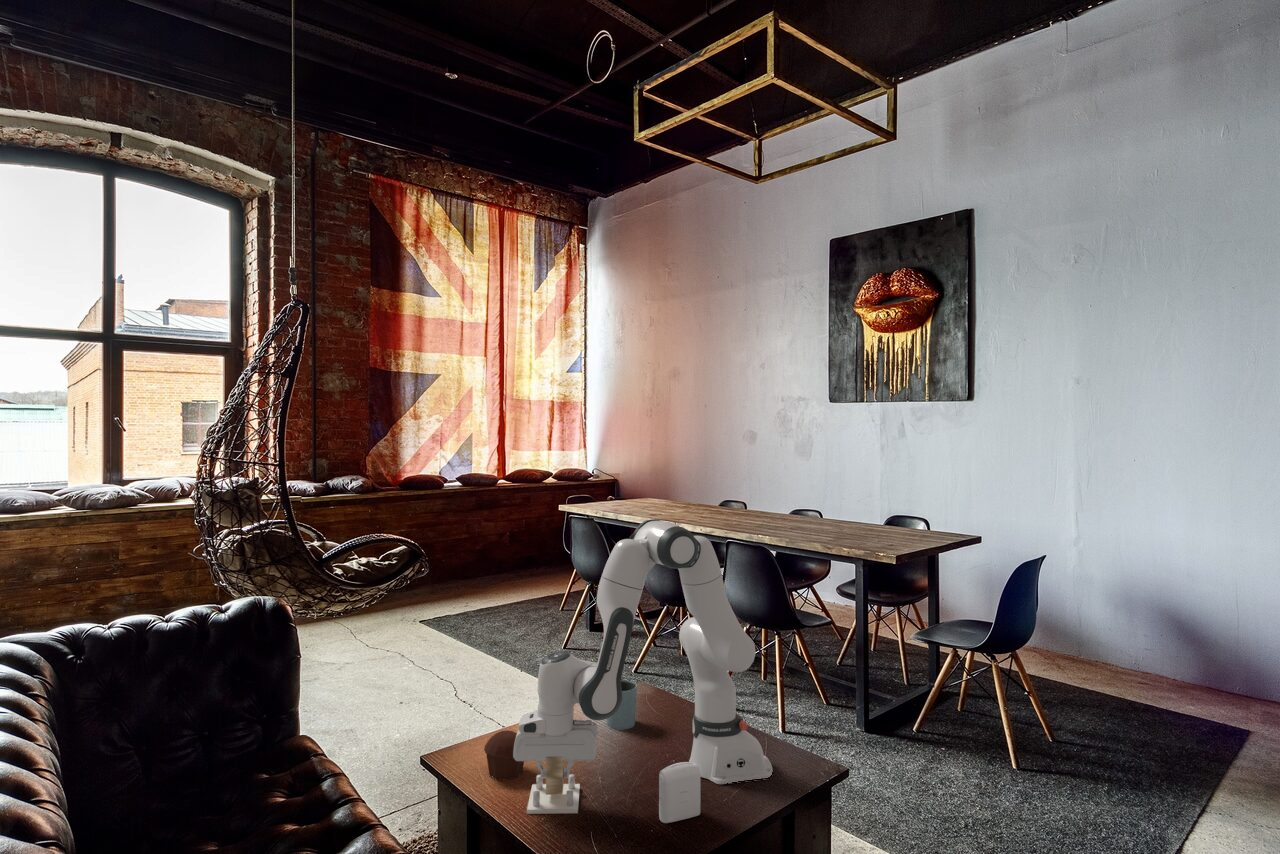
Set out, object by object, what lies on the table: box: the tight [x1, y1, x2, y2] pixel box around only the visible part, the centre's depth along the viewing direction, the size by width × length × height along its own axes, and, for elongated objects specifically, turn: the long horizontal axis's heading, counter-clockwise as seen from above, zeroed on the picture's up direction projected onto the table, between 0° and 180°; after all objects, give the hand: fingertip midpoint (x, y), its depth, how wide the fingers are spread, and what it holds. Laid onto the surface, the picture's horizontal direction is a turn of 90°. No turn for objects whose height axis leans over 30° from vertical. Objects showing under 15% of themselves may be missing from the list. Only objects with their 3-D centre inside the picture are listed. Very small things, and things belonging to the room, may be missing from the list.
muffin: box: [483, 730, 525, 781], centre depth 187 cm, size 12×11×10 cm
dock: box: [526, 773, 581, 815], centre depth 173 cm, size 12×12×4 cm
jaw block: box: [545, 757, 565, 795], centre depth 173 cm, size 4×4×9 cm
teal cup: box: [606, 679, 638, 731], centre depth 218 cm, size 10×10×12 cm
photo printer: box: [658, 761, 701, 824], centre depth 166 cm, size 10×4×12 cm, turn 114°
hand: (554, 777), depth 173 cm, fingers closed on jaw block, 4 cm apart
